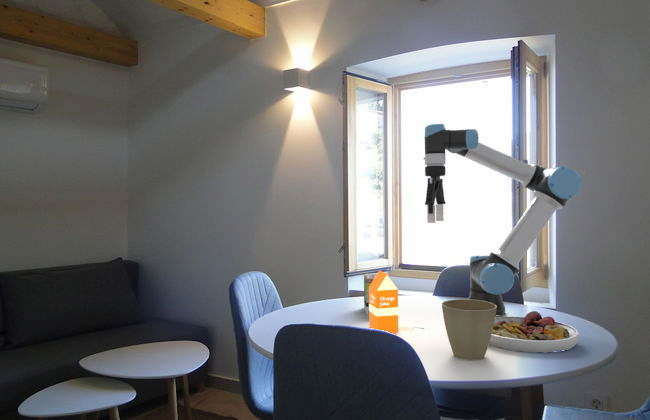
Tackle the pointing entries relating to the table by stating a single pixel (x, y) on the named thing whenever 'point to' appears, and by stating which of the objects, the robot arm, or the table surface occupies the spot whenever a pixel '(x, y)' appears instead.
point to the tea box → (367, 290)
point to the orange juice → (383, 304)
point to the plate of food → (532, 334)
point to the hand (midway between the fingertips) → (435, 222)
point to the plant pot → (469, 326)
